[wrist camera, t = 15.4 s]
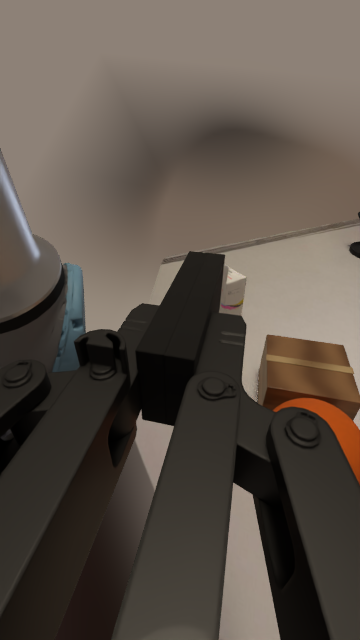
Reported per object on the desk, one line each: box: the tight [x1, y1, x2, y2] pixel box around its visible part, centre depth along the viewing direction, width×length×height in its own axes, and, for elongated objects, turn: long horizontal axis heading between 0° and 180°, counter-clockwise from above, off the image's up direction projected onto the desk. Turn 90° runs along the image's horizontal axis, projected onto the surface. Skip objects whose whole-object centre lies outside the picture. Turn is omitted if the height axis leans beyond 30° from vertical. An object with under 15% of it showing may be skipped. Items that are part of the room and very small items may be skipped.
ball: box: [273, 398, 360, 484], centre depth 33 cm, size 11×11×11 cm
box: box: [258, 335, 360, 421], centre depth 43 cm, size 11×11×8 cm
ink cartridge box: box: [203, 252, 246, 315], centre depth 58 cm, size 9×5×15 cm, turn 32°
